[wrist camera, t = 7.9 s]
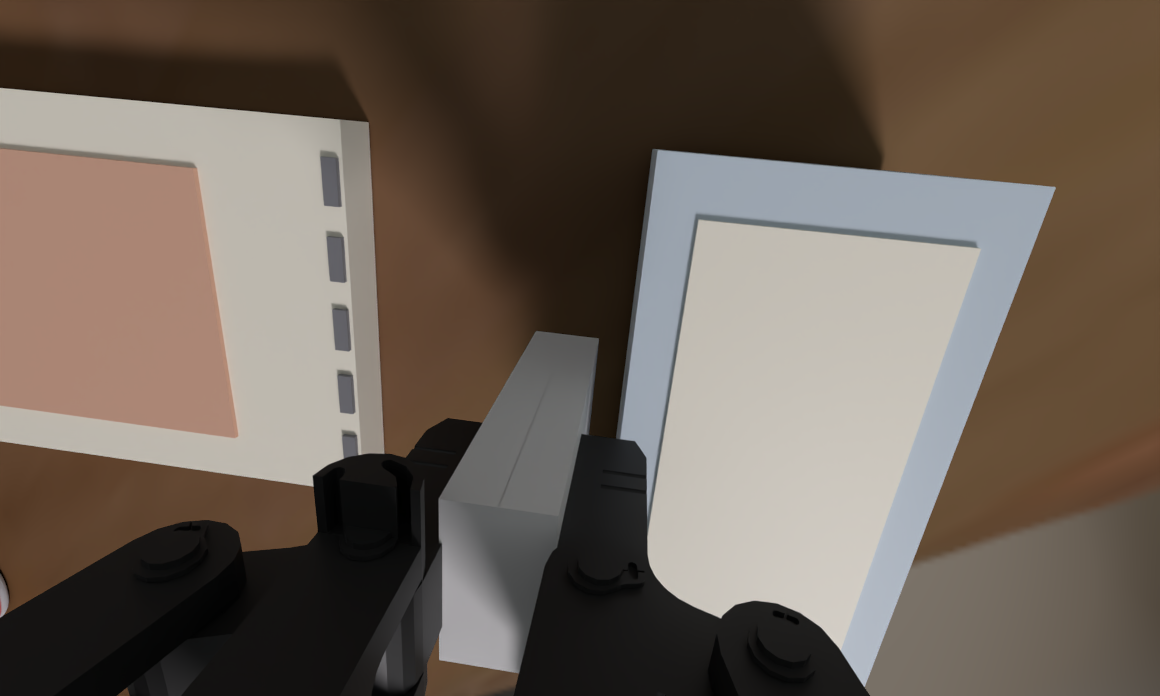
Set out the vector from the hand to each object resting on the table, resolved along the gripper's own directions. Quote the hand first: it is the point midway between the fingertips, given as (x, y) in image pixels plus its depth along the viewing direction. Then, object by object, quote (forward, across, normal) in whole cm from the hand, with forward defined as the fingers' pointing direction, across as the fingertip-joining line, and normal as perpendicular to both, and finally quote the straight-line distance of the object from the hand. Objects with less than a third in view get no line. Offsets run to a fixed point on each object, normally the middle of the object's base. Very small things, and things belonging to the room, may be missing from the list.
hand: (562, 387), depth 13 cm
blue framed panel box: (+3, +4, 0) cm, 5 cm away
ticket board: (+3, -13, 0) cm, 13 cm away
